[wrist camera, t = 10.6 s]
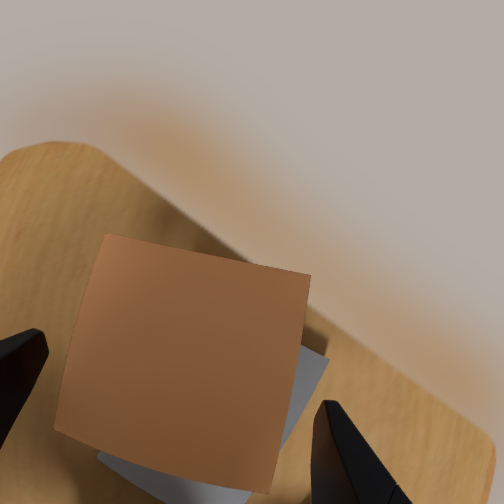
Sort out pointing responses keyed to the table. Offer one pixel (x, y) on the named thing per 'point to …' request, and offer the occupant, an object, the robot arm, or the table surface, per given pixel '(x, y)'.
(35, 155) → the table surface
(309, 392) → the plate
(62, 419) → the orange brown rectangular block
